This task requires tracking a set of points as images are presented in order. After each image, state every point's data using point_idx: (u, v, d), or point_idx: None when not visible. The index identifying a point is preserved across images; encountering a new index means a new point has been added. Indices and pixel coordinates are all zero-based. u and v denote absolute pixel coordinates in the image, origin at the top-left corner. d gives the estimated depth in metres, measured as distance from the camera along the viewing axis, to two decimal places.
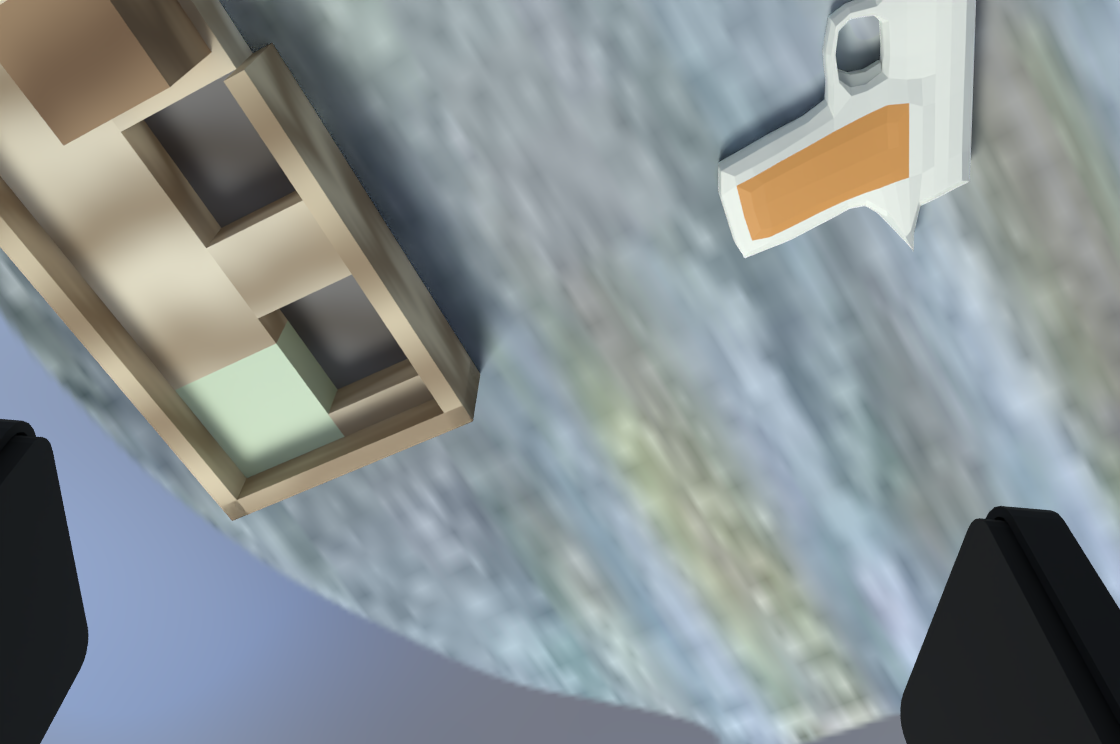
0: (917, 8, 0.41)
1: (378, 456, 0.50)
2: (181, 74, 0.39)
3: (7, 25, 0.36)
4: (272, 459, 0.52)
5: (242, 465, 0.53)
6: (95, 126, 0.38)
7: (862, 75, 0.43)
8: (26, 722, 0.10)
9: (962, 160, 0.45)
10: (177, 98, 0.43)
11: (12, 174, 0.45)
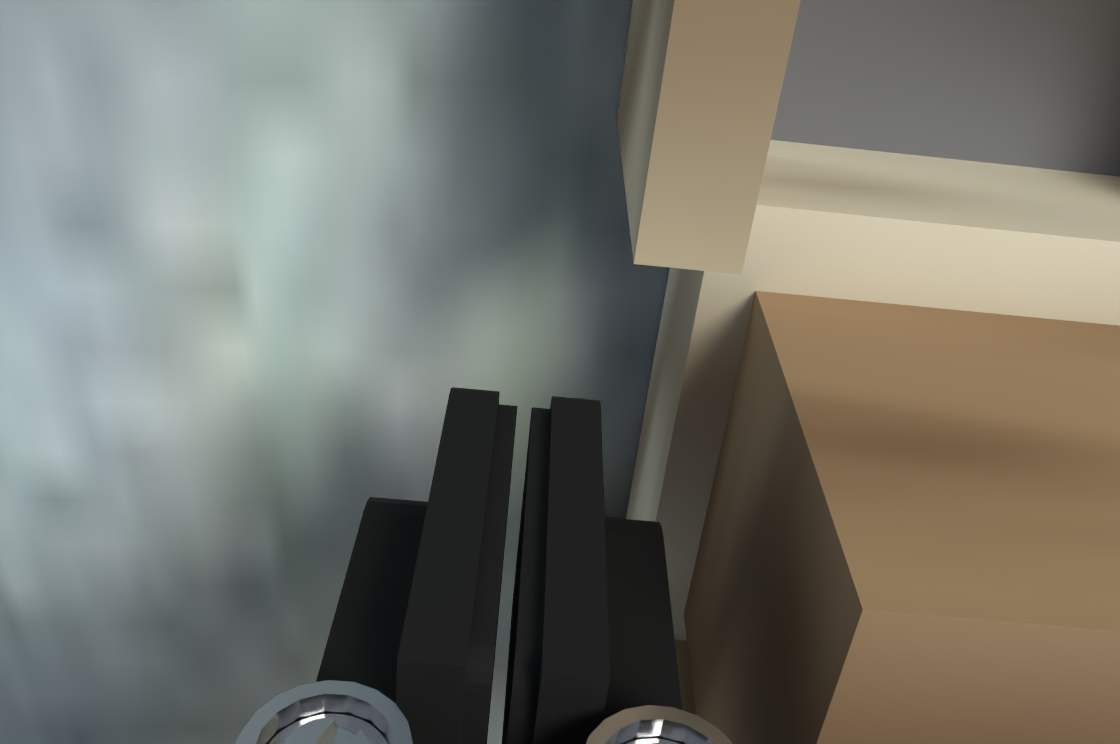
0: None
1: None
2: (819, 493, 0.09)
3: None
4: None
5: None
6: None
7: None
8: None
9: None
10: (983, 235, 0.11)
11: None
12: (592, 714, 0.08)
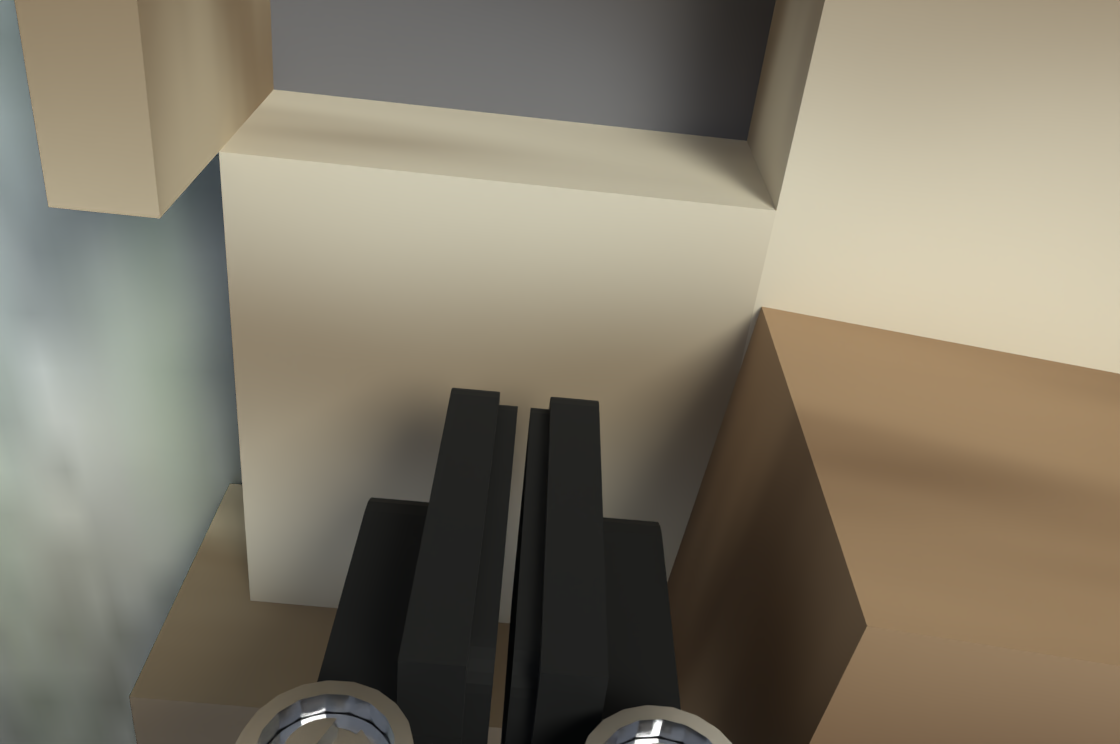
0: None
1: None
2: (823, 510, 0.09)
3: None
4: None
5: None
6: None
7: None
8: None
9: None
10: (494, 188, 0.11)
11: None
12: (591, 714, 0.08)
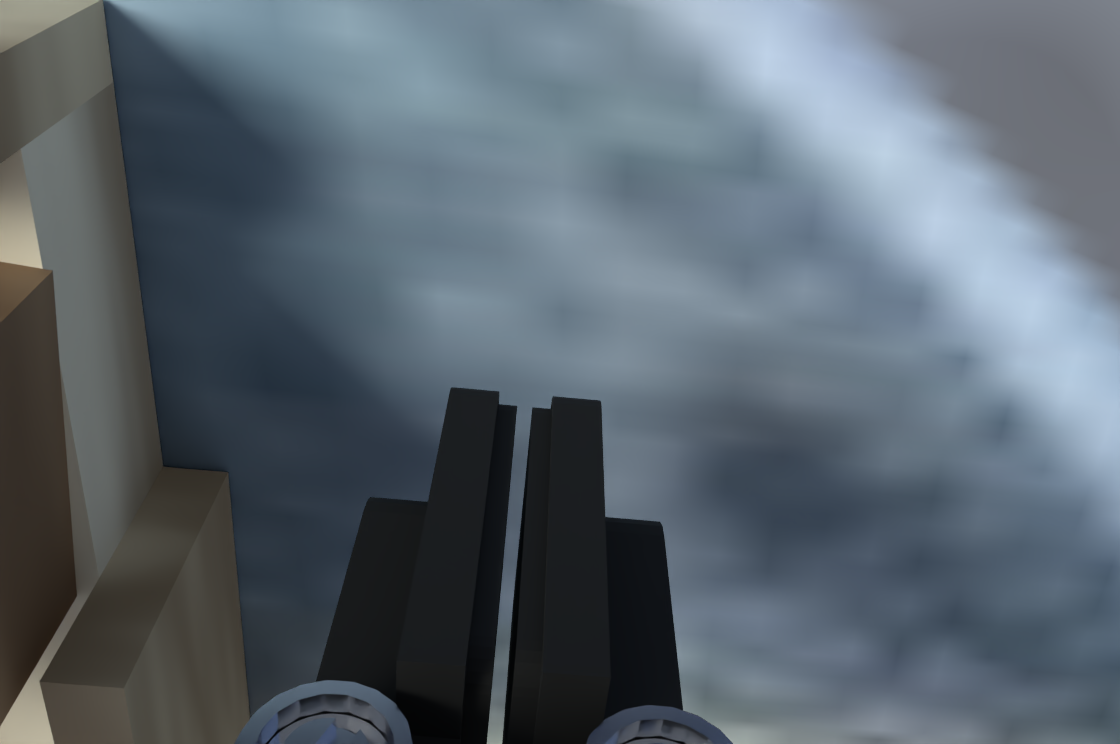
0: None
1: None
2: None
3: None
4: None
5: None
6: None
7: None
8: None
9: None
10: None
11: None
12: (592, 714, 0.08)
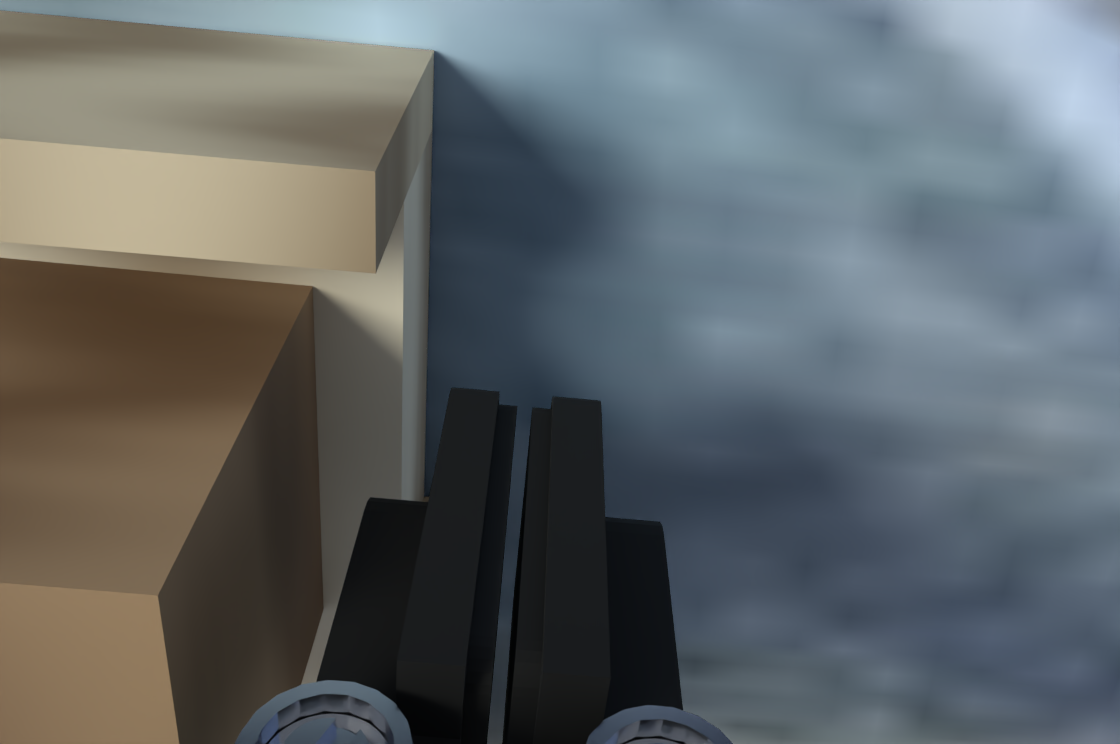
0: None
1: None
2: None
3: (87, 698, 0.08)
4: None
5: None
6: None
7: None
8: None
9: None
10: None
11: None
12: (593, 714, 0.08)
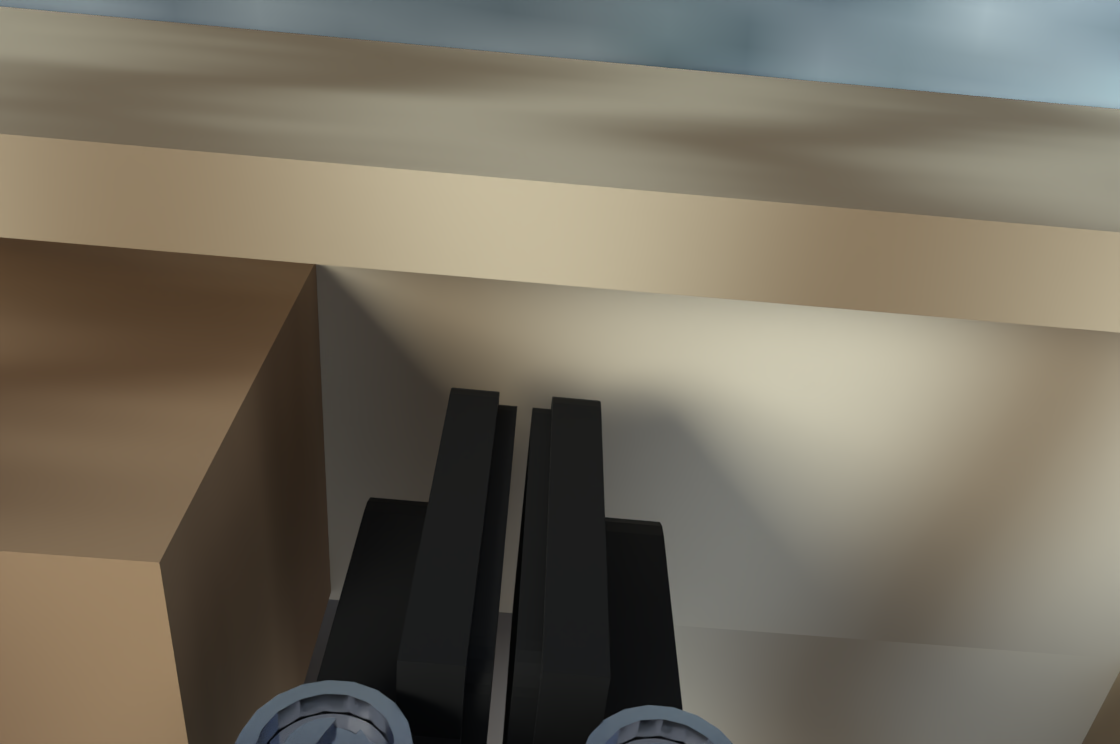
0: None
1: None
2: None
3: (90, 670, 0.08)
4: None
5: None
6: None
7: None
8: None
9: None
10: None
11: None
12: (592, 714, 0.08)
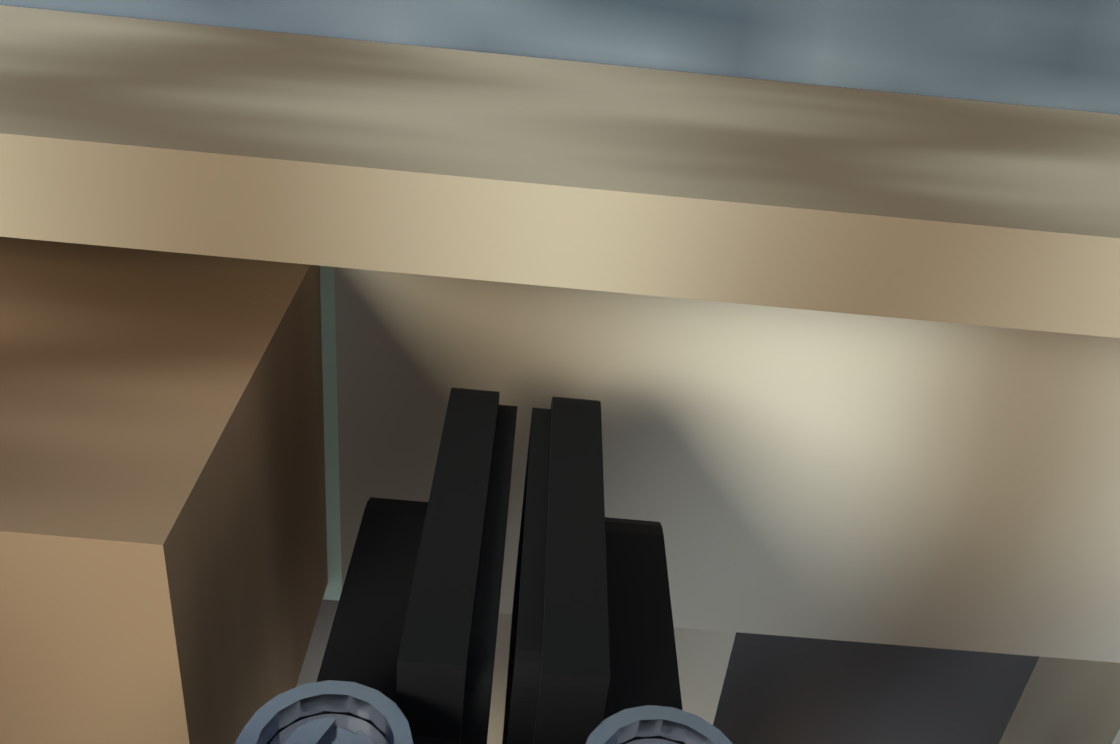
0: None
1: None
2: None
3: (90, 653, 0.08)
4: None
5: None
6: None
7: None
8: (494, 660, 0.11)
9: None
10: None
11: None
12: (592, 714, 0.08)
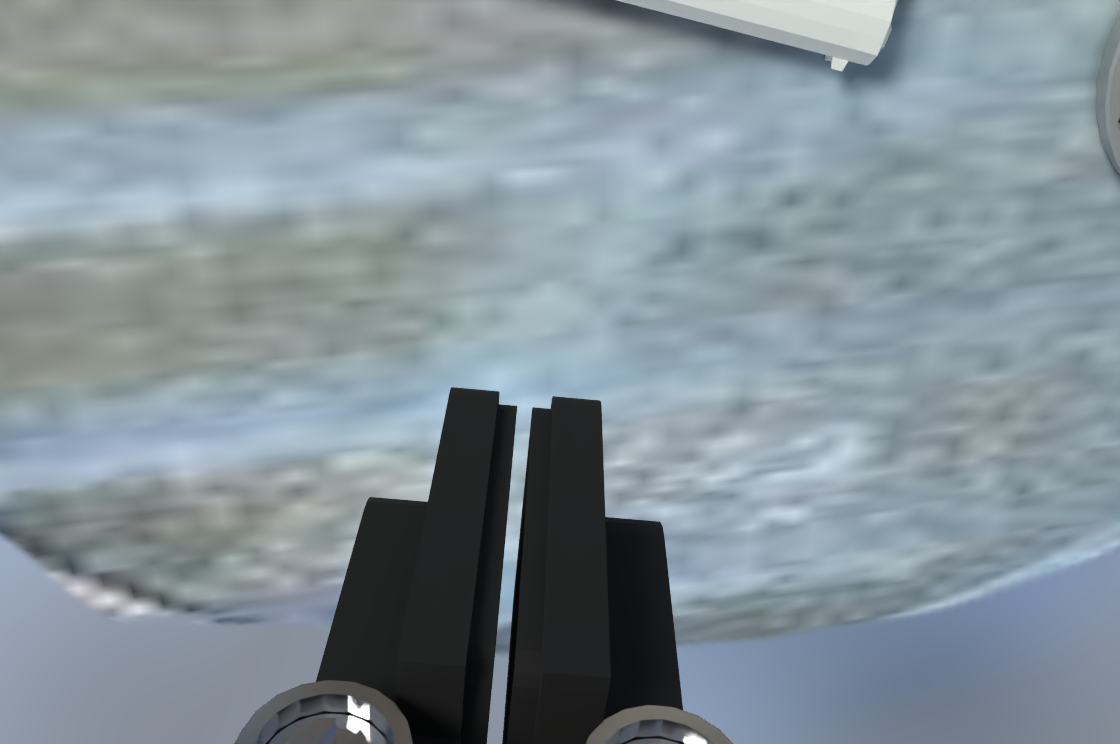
0: None
1: None
2: None
3: None
4: None
5: None
6: None
7: None
8: None
9: None
10: None
11: None
12: (593, 714, 0.08)
